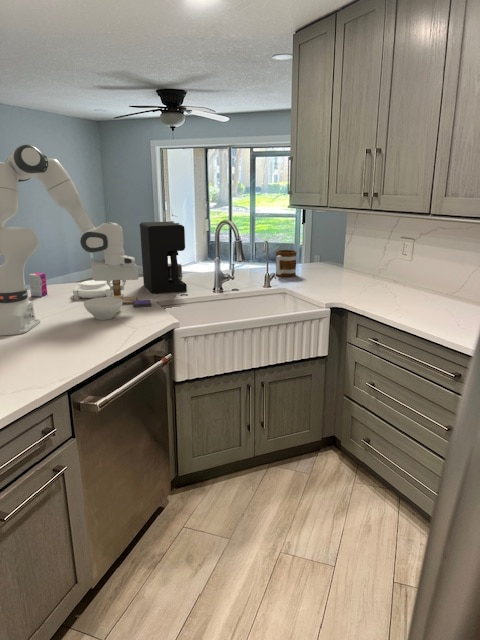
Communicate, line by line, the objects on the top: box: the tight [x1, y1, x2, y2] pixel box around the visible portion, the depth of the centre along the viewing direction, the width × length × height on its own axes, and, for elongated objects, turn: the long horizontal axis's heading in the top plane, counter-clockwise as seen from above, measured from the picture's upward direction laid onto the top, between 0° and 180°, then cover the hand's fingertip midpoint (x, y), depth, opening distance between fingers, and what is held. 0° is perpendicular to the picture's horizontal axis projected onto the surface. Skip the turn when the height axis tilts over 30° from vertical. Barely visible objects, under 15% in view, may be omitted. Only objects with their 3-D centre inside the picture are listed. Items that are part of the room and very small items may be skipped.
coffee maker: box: [138, 220, 188, 295], centre depth 243 cm, size 28×20×35 cm
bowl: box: [83, 297, 123, 321], centre depth 195 cm, size 16×16×7 cm
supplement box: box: [28, 272, 48, 298], centre depth 232 cm, size 6×6×12 cm
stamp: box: [111, 280, 125, 299], centre depth 206 cm, size 5×5×9 cm
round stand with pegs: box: [72, 279, 114, 301], centre depth 234 cm, size 24×24×7 cm
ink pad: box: [132, 299, 152, 308], centre depth 216 cm, size 8×8×2 cm
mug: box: [275, 249, 298, 279], centre depth 279 cm, size 20×14×15 cm
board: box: [122, 296, 139, 306], centre depth 222 cm, size 12×12×1 cm
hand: (117, 290), depth 207 cm, fingers closed on stamp, 3 cm apart
